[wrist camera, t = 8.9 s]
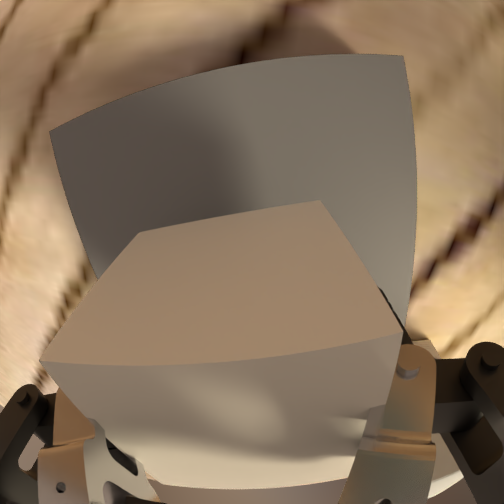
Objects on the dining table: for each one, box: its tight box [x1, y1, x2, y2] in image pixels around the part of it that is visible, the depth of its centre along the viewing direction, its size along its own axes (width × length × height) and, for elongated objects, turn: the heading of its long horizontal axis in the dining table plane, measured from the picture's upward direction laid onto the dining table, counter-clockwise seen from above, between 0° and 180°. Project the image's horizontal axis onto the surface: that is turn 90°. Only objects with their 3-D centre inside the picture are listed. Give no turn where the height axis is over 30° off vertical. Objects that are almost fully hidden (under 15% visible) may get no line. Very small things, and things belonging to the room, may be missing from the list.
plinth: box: [50, 54, 417, 328], centre depth 15 cm, size 16×16×4 cm
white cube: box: [39, 200, 403, 489], centre depth 8 cm, size 6×6×6 cm
